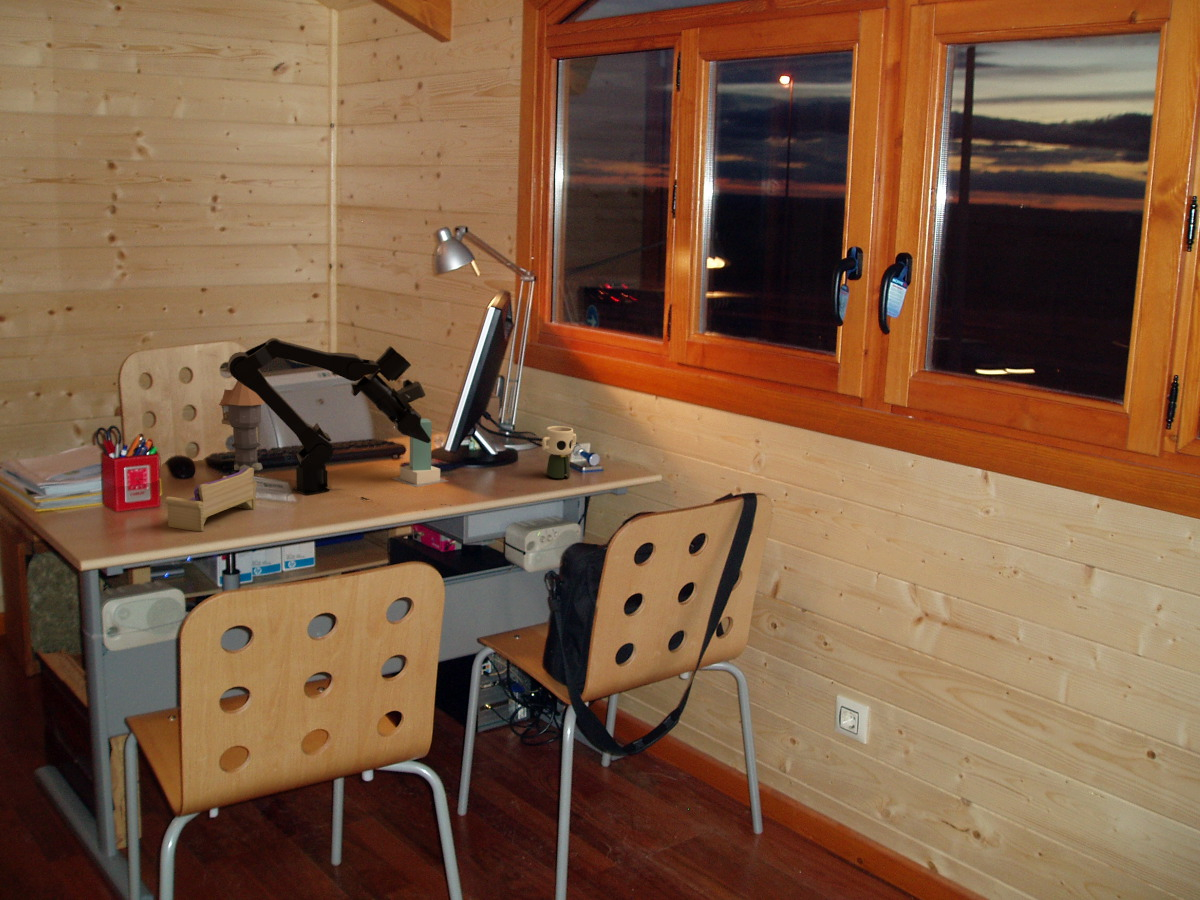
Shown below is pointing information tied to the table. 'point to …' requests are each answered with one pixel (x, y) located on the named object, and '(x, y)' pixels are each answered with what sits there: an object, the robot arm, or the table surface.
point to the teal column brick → (421, 449)
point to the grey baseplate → (419, 484)
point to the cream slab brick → (419, 475)
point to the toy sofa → (212, 500)
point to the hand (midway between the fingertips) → (426, 438)
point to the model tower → (243, 424)
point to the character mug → (558, 450)
